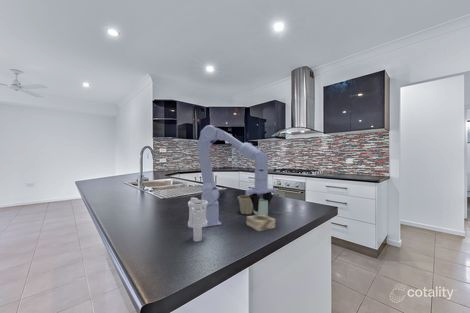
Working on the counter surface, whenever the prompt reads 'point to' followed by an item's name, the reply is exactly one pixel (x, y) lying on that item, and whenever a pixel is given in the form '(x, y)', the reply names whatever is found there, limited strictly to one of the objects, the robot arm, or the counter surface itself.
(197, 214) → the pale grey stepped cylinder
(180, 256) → the counter surface
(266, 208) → the sage block
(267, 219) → the beech base
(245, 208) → the flower pot
